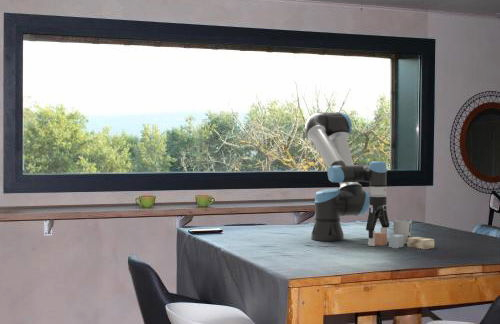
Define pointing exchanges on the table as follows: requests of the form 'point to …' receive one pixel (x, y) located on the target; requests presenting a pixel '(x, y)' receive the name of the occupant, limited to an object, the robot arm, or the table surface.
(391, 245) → the slate block
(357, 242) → the table surface
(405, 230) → the cup
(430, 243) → the maple block
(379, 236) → the terracotta block
